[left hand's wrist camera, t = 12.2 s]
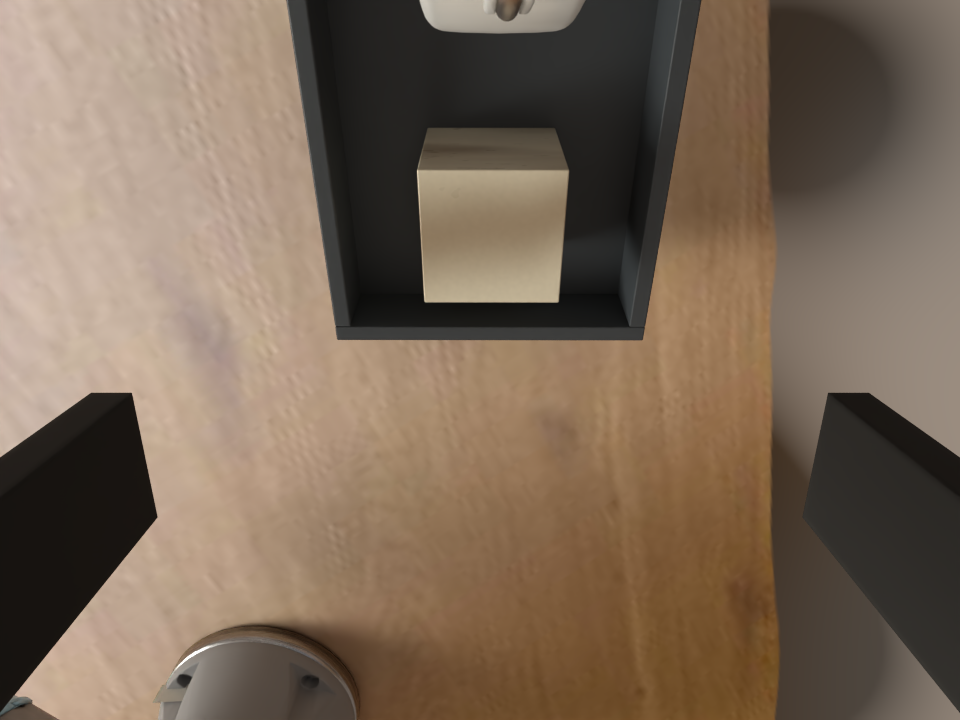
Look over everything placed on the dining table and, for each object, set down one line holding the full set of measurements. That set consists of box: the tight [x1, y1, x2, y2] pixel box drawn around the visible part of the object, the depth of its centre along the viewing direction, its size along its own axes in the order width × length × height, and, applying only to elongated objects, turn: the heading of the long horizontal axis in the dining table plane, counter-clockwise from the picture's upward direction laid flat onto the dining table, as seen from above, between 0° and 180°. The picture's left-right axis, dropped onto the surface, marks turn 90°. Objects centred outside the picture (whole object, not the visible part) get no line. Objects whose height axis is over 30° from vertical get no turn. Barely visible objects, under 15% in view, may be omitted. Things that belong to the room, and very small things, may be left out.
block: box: [417, 128, 569, 302], centre depth 30 cm, size 6×6×6 cm
